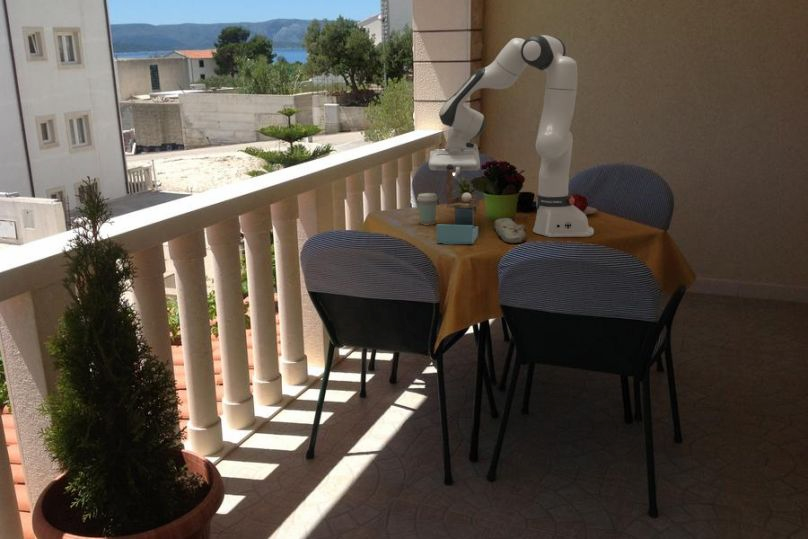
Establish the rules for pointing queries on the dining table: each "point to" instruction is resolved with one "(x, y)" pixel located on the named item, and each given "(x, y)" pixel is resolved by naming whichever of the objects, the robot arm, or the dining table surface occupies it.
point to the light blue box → (456, 234)
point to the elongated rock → (509, 230)
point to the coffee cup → (427, 207)
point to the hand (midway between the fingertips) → (452, 177)
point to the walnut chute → (458, 201)
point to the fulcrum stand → (464, 216)
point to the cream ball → (466, 197)
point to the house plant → (464, 186)
